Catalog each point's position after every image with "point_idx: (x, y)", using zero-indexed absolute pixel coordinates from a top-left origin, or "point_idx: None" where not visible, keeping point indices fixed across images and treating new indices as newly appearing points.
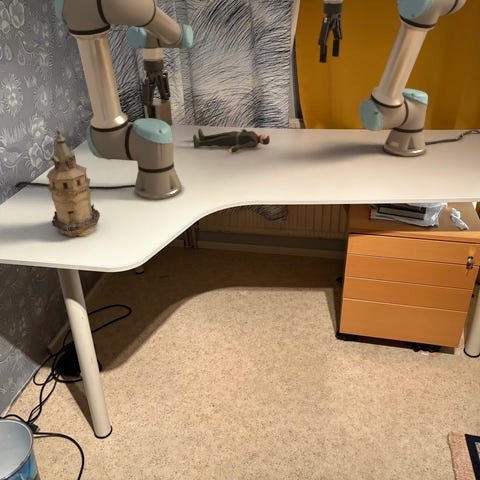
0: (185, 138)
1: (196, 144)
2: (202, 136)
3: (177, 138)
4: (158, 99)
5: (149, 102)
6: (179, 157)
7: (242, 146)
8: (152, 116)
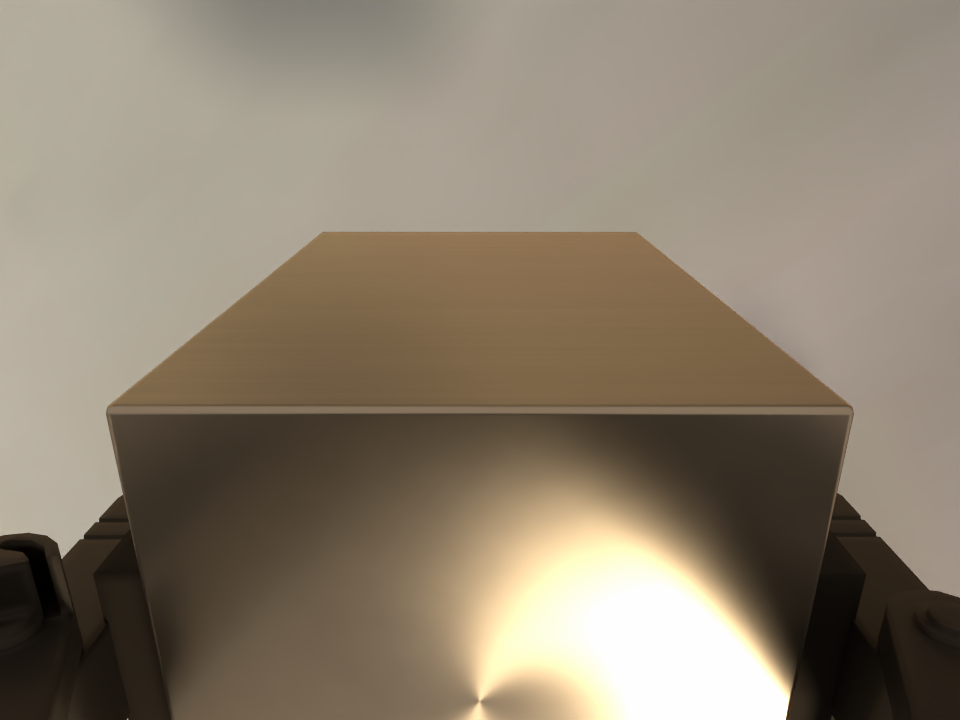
0: (851, 339)
1: None
2: None
3: (824, 261)
4: (808, 555)
5: (308, 524)
6: None
7: None
8: None
